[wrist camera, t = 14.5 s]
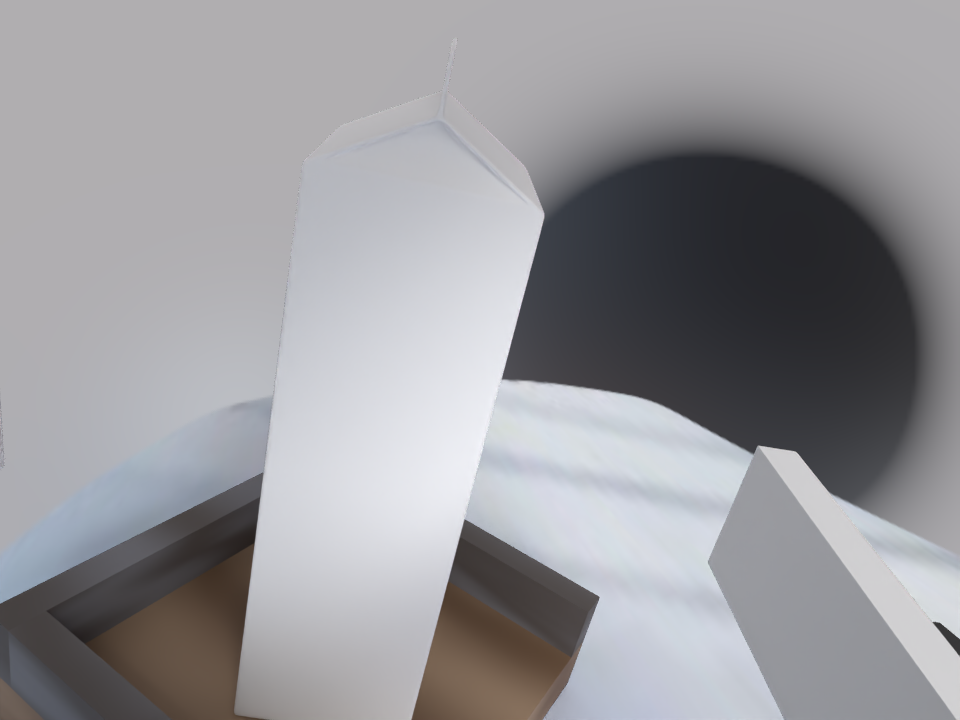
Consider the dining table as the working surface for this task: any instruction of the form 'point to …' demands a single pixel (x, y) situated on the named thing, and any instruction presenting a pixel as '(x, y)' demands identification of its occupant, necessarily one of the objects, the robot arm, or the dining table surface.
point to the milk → (381, 404)
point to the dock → (221, 618)
